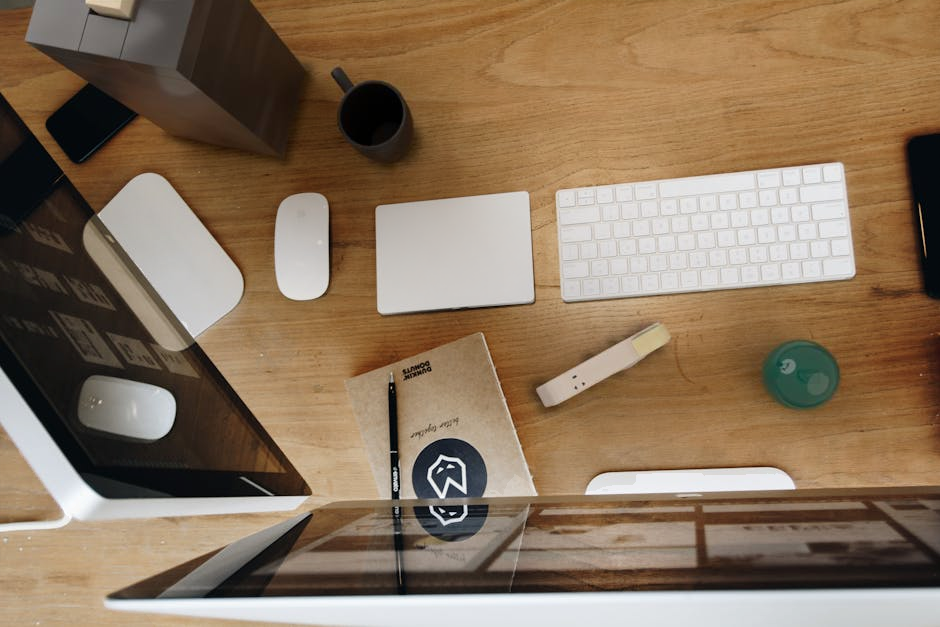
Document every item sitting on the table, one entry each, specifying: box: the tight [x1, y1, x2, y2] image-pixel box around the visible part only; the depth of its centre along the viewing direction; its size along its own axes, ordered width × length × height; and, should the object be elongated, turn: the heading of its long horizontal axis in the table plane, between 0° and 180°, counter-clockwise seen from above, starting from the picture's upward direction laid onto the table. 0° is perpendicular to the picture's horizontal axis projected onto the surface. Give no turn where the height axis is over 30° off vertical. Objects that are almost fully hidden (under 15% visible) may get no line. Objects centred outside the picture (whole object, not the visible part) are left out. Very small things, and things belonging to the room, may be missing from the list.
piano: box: [24, 0, 307, 159], centre depth 79 cm, size 16×12×26 cm
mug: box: [330, 66, 415, 164], centre depth 84 cm, size 8×12×10 cm
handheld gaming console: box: [535, 322, 672, 408], centre depth 79 cm, size 11×3×15 cm
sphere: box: [760, 338, 842, 413], centre depth 76 cm, size 8×8×8 cm
